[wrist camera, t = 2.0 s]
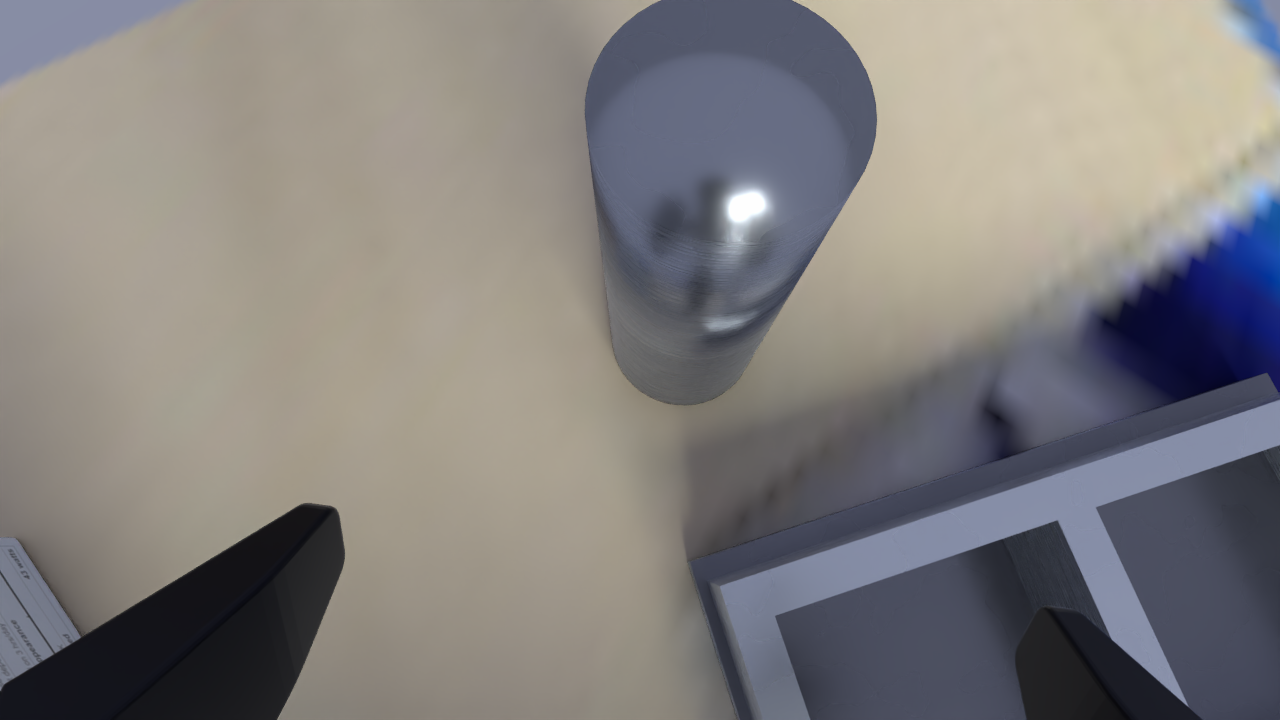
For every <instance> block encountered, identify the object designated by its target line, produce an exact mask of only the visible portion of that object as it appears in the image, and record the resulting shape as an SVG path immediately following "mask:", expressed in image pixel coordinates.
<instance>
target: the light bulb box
mask: <svg viewBox="0 0 1280 720" xmlns="http://www.w3.org/2000/svg"><path fill="white" fill-rule="evenodd" d="M79 638H81V636H80V635H79V633H78V631H77V630H76V628H75V627H74V625H73V623H72V622H71V620H70V619H69V617H68V616H67V614H66V613H65V611H64V610H63V608H62V607H61V605H60V604H59V602H58V601H57V599H56V598H55V596H54V595H53V593H52V592H51V590H50V589H49V587H48V586H47V584H46V583H45V581H44V580H43V578H42V577H41V575H40V574H39V572H38V571H37V569H36V567H35V566H34V564H33V563H32V561H31V560H30V558H29V557H28V555H27V554H26V552H25V551H24V549H23V547H22V546H21V544H20V543H19V542H18V540H17V539H15V538H9V537H0V691H1V689H2V687H3V685H4V684H5V683H7V682H8V681H10V680H12V679H13V678H15V677H17V676H18V675H20V674H22V673H23V672H25V671H27V670H28V669H30V668H32V667H33V666H35V665H36V664H38V663H40V662H41V661H43V660H45V659H46V658H48V657H50V656H51V655H53V654H55V653H56V652H58V651H60V650H61V649H63V648H65V647H66V646H68V645H69V644H71V643H73V642H74V641H76V640H78V639H79Z"/></svg>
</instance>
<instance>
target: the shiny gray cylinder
mask: <svg viewBox="0 0 1280 720" xmlns="http://www.w3.org/2000/svg"><path fill="white" fill-rule="evenodd" d="M585 120H586V130H587V138H588V147H589V155H590V163H591V171H592V179H593V188H594V196H595V204H596V212H597V221H598V229H599V237H600V245H601V253H602V262H603V270H604V278H605V286H606V294H607V303H608V311H609V319H610V327H611V335H612V344H613V350H614V354H615V357H616V360H617V362H618V365H619V367H620V369H621V370H622V372H623V374H624V375H625V376H626V378H627V379H628V380H629V381H630V382H631V383H632V384H633V385H634V386H635V387H636V388H637V389H638V390H640V391H641V392H642V393H644V394H646V395H647V396H649V397H651V398H653V399H656V400H658V401H661V402H664V403H668V404H675V405H692V404H698V403H703V402H706V401H709V400H711V399H714V398H716V397H718V396H719V395H721V394H723V393H724V392H725V391H727V390H728V389H729V388H730V387H732V386H733V385H734V384H735V383H736V381H737V380H738V379H739V378H740V376H741V375H742V373H743V372H744V370H745V368H746V367H747V365H748V363H749V362H750V360H751V358H752V357H753V355H754V353H755V352H756V350H757V349H758V347H759V345H760V344H761V342H762V340H763V339H764V337H765V335H766V334H767V332H768V330H769V329H770V327H771V325H772V324H773V322H774V320H775V319H776V317H777V315H778V314H779V312H780V310H781V309H782V307H783V305H784V304H785V302H786V300H787V299H788V297H789V295H790V294H791V292H792V290H793V289H794V287H795V285H796V284H797V282H798V281H799V279H800V277H801V276H802V274H803V272H804V271H805V269H806V267H807V266H808V264H809V262H810V261H811V259H812V257H813V256H814V254H815V252H816V251H817V249H818V247H819V246H820V244H821V242H822V241H823V239H824V237H825V236H826V234H827V232H828V231H829V229H830V227H831V226H832V224H833V222H834V221H835V219H836V217H837V216H838V214H839V213H840V211H841V209H842V208H843V206H844V204H845V203H846V201H847V199H848V198H849V196H850V194H851V193H852V191H853V189H854V188H855V186H856V184H857V183H858V181H859V179H860V177H861V176H862V174H863V172H864V171H865V169H866V166H867V164H868V161H869V159H870V156H871V154H872V150H873V146H874V141H875V137H876V125H877V114H876V102H875V98H874V93H873V89H872V85H871V82H870V80H869V77H868V74H867V72H866V70H865V68H864V66H863V64H862V62H861V60H860V59H859V57H858V55H857V54H856V52H855V51H854V50H853V48H852V47H851V45H850V44H849V43H848V41H847V40H846V39H845V38H844V37H843V36H842V35H841V34H840V33H839V32H838V31H837V30H836V29H835V28H834V27H833V26H832V25H830V24H829V23H828V22H827V21H826V20H824V19H823V18H822V17H820V16H819V15H817V14H816V13H814V12H813V11H811V10H810V9H808V8H806V7H804V6H802V5H800V4H798V3H796V2H794V1H792V0H661V1H659V2H657V3H655V4H652V5H651V6H649V7H647V8H646V9H644V10H642V11H641V12H639V13H638V14H636V15H635V16H634V17H633V18H631V19H630V20H629V21H628V22H626V23H625V24H624V25H623V26H622V27H621V28H620V29H619V30H618V31H617V32H616V33H615V34H614V35H613V36H612V38H611V39H610V40H609V42H608V43H607V44H606V46H605V47H604V49H603V50H602V52H601V54H600V56H599V57H598V59H597V61H596V63H595V65H594V68H593V70H592V73H591V76H590V79H589V82H588V87H587V93H586V99H585Z"/></svg>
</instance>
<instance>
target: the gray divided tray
mask: <svg viewBox="0 0 1280 720" xmlns="http://www.w3.org/2000/svg"><path fill="white" fill-rule="evenodd" d="M688 565H689V569H690V572H691V575H692V578H693V581H694V584H695V587H696V591H697V594H698V597H699V600H700V603H701V606H702V609H703V613H704V616H705V619H706V622H707V625H708V628H709V631H710V635H711V638H712V641H713V644H714V647H715V650H716V653H717V657H718V660H719V663H720V666H721V669H722V672H723V675H724V679H725V682H726V685H727V688H728V691H729V694H730V697H731V701H732V704H733V707H734V710H735V713H736V716H737V719H738V720H1027V719H1026V715H1025V710H1024V705H1023V700H1022V696H1021V691H1020V686H1019V681H1018V676H1017V672H1016V666H1015V652H1016V648H1017V645H1018V643H1019V641H1020V639H1021V638H1022V636H1023V634H1024V632H1025V630H1026V629H1027V627H1028V625H1029V623H1030V621H1031V620H1032V618H1033V616H1034V614H1035V613H1036V611H1037V610H1038V609H1039V608H1040V607H1042V606H1045V605H1050V606H1057V607H1064V608H1071V609H1075V610H1077V611H1079V612H1081V613H1082V614H1083V615H1085V616H1086V617H1087V618H1088V619H1089V620H1090V621H1091V622H1093V623H1094V624H1095V625H1096V626H1097V627H1098V628H1099V629H1101V630H1102V631H1103V632H1104V633H1105V634H1106V635H1107V636H1108V637H1110V638H1111V639H1112V640H1113V641H1114V642H1115V643H1116V644H1118V645H1119V646H1120V647H1121V648H1122V649H1123V650H1124V651H1125V652H1127V653H1128V654H1129V655H1130V656H1131V657H1132V658H1133V659H1135V660H1136V661H1137V662H1138V663H1139V664H1140V665H1141V666H1143V667H1144V668H1145V669H1146V670H1147V671H1148V672H1149V673H1150V674H1152V675H1153V676H1154V677H1155V678H1156V679H1157V680H1158V681H1160V682H1161V683H1162V684H1163V685H1164V686H1165V687H1166V688H1167V689H1169V690H1170V691H1171V692H1172V693H1173V694H1174V695H1175V696H1177V697H1178V698H1179V699H1180V700H1181V701H1182V702H1183V703H1184V704H1186V705H1187V706H1188V707H1189V708H1190V709H1191V710H1192V711H1194V712H1195V713H1196V714H1197V715H1198V716H1199V717H1200V718H1201V719H1203V720H1280V392H1278V391H1277V390H1276V388H1275V386H1274V384H1273V382H1272V381H1271V379H1270V377H1269V375H1268V373H1265V374H1261V375H1257V376H1254V377H1250V378H1247V379H1243V380H1240V381H1237V382H1234V383H1230V384H1227V385H1224V386H1221V387H1218V388H1215V389H1212V390H1209V391H1206V392H1203V393H1200V394H1197V395H1194V396H1191V397H1188V398H1185V399H1182V400H1179V401H1176V402H1173V403H1170V404H1166V405H1163V406H1160V407H1157V408H1154V409H1151V410H1148V411H1145V412H1142V413H1139V414H1136V415H1133V416H1130V417H1127V418H1124V419H1121V420H1118V421H1115V422H1112V423H1109V424H1106V425H1103V426H1099V427H1096V428H1093V429H1090V430H1087V431H1084V432H1081V433H1078V434H1075V435H1072V436H1069V437H1066V438H1063V439H1060V440H1057V441H1054V442H1051V443H1048V444H1045V445H1042V446H1039V447H1035V448H1032V449H1029V450H1026V451H1023V452H1020V453H1017V454H1014V455H1011V456H1008V457H1005V458H1002V459H999V460H996V461H993V462H990V463H987V464H984V465H981V466H978V467H975V468H971V469H968V470H965V471H962V472H959V473H956V474H953V475H950V476H947V477H944V478H941V479H938V480H935V481H932V482H929V483H926V484H923V485H920V486H917V487H914V488H911V489H908V490H904V491H901V492H898V493H895V494H892V495H889V496H886V497H883V498H880V499H877V500H874V501H871V502H868V503H865V504H862V505H859V506H856V507H853V508H850V509H847V510H844V511H840V512H837V513H834V514H831V515H828V516H825V517H822V518H819V519H816V520H813V521H810V522H807V523H804V524H801V525H798V526H795V527H792V528H789V529H786V530H783V531H780V532H776V533H773V534H770V535H767V536H764V537H761V538H758V539H755V540H752V541H749V542H746V543H743V544H740V545H737V546H734V547H731V548H728V549H725V550H722V551H719V552H716V553H713V554H709V555H706V556H703V557H700V558H697V559H694V560H691V561H688Z"/></svg>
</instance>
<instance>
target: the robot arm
mask: <svg viewBox="0 0 1280 720" xmlns="http://www.w3.org/2000/svg"><path fill="white" fill-rule="evenodd" d="M344 560H345V549H344V542H343V536H342V529H341V523H340V516H339V513H338V511H337V509H336V508H334V507H332V506H327V505H320V504H312V503H304V504H301V505H299V506H297V507H295V508H294V509H292V510H291V511H289V512H287V513H286V514H284V515H282V516H281V517H279V518H277V519H276V520H274V521H272V522H271V523H269V524H267V525H266V526H264V527H262V528H261V529H259V530H258V531H256V532H254V533H253V534H251V535H249V536H248V537H246V538H244V539H243V540H241V541H239V542H238V543H236V544H234V545H233V546H231V547H229V548H228V549H226V550H225V551H223V552H221V553H220V554H218V555H216V556H215V557H213V558H211V559H210V560H208V561H206V562H205V563H203V564H201V565H200V566H198V567H196V568H195V569H193V570H192V571H190V572H188V573H187V574H185V575H183V576H182V577H180V578H178V579H177V580H175V581H173V582H172V583H170V584H168V585H167V586H165V587H163V588H162V589H160V590H159V591H157V592H155V593H154V594H152V595H150V596H149V597H147V598H145V599H144V600H142V601H140V602H139V603H137V604H135V605H134V606H132V607H130V608H129V609H127V610H126V611H124V612H122V613H121V614H119V615H117V616H116V617H114V618H112V619H111V620H109V621H107V622H106V623H104V624H102V625H101V626H99V627H98V628H96V629H94V630H93V631H91V632H89V633H88V634H86V635H84V636H83V637H81V638H79V639H78V640H76V641H74V642H73V643H71V644H69V645H68V646H66V647H65V648H63V649H61V650H60V651H58V652H56V653H55V654H53V655H51V656H50V657H48V658H46V659H45V660H43V661H41V662H40V663H38V664H36V665H35V666H33V667H32V668H30V669H28V670H27V671H25V672H23V673H22V674H20V675H18V676H17V677H15V678H13V679H12V680H10V681H8V682H7V683H5V684H4V685H3V687H2V689H1V691H0V720H277V718H278V716H279V714H280V713H281V711H282V709H283V707H284V705H285V703H286V701H287V699H288V697H289V695H290V693H291V691H292V689H293V687H294V685H295V683H296V681H297V679H298V677H299V675H300V672H301V670H302V668H303V665H304V663H305V661H306V658H307V656H308V653H309V651H310V648H311V646H312V643H313V641H314V638H315V636H316V634H317V631H318V629H319V626H320V624H321V621H322V619H323V616H324V614H325V611H326V609H327V606H328V604H329V601H330V599H331V596H332V594H333V591H334V589H335V586H336V584H337V582H338V579H339V577H340V574H341V572H342V569H343V565H344ZM1015 666H1016V672H1017V676H1018V681H1019V686H1020V691H1021V696H1022V700H1023V705H1024V710H1025V715H1026V719H1027V720H1203V719H1201V718H1200V717H1199V716H1198V715H1197V714H1196V713H1195V712H1194V711H1192V710H1191V709H1190V708H1189V707H1188V706H1187V705H1186V704H1184V703H1183V702H1182V701H1181V700H1180V699H1179V698H1178V697H1177V696H1175V695H1174V694H1173V693H1172V692H1171V691H1170V690H1169V689H1167V688H1166V687H1165V686H1164V685H1163V684H1162V683H1161V682H1160V681H1158V680H1157V679H1156V678H1155V677H1154V676H1153V675H1152V674H1150V673H1149V672H1148V671H1147V670H1146V669H1145V668H1144V667H1143V666H1141V665H1140V664H1139V663H1138V662H1137V661H1136V660H1135V659H1133V658H1132V657H1131V656H1130V655H1129V654H1128V653H1127V652H1125V651H1124V650H1123V649H1122V648H1121V647H1120V646H1119V645H1118V644H1116V643H1115V642H1114V641H1113V640H1112V639H1111V638H1110V637H1108V636H1107V635H1106V634H1105V633H1104V632H1103V631H1102V630H1101V629H1099V628H1098V627H1097V626H1096V625H1095V624H1094V623H1093V622H1091V621H1090V620H1089V619H1088V618H1087V617H1086V616H1085V615H1083V614H1082V613H1081V612H1079V611H1077V610H1075V609H1071V608H1064V607H1057V606H1050V605H1045V606H1042V607H1040V608H1039V609H1038V610H1037V611H1036V613H1035V614H1034V616H1033V618H1032V620H1031V621H1030V623H1029V625H1028V627H1027V629H1026V630H1025V632H1024V634H1023V636H1022V638H1021V639H1020V641H1019V643H1018V645H1017V648H1016V652H1015Z"/></svg>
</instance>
